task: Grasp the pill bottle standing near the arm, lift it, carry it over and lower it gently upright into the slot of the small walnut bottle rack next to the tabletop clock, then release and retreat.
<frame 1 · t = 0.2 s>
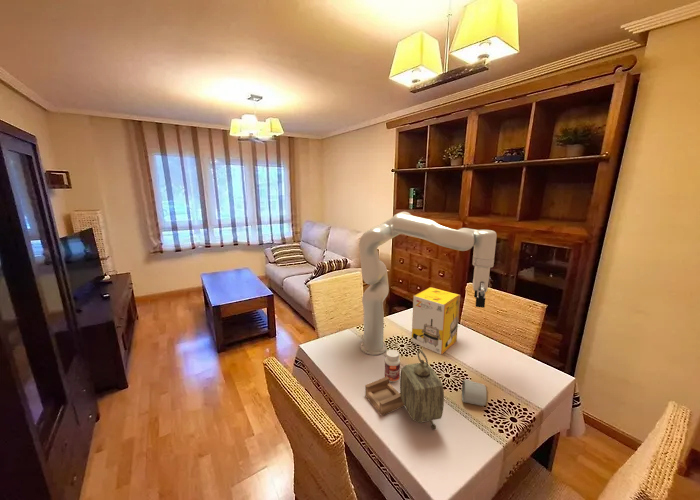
hand: (479, 302, 114), 31 cm above the table, tool pointing down, fingers open, 9 cm apart
packaging box: (434, 341, 143), on the table
pill bottle: (392, 378, 116), on the table
ceramic mug: (472, 399, 104), on the table
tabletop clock: (418, 418, 96), on the table
rack: (384, 400, 104), on the table
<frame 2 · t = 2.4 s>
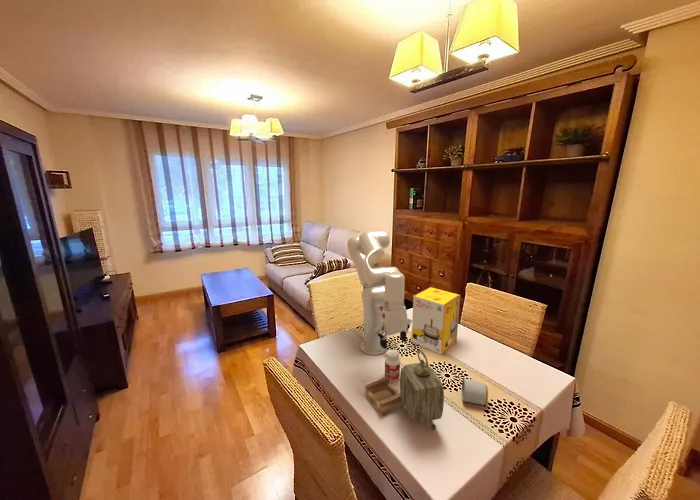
hand: (393, 343, 112), 16 cm above the table, tool pointing down, fingers open, 9 cm apart
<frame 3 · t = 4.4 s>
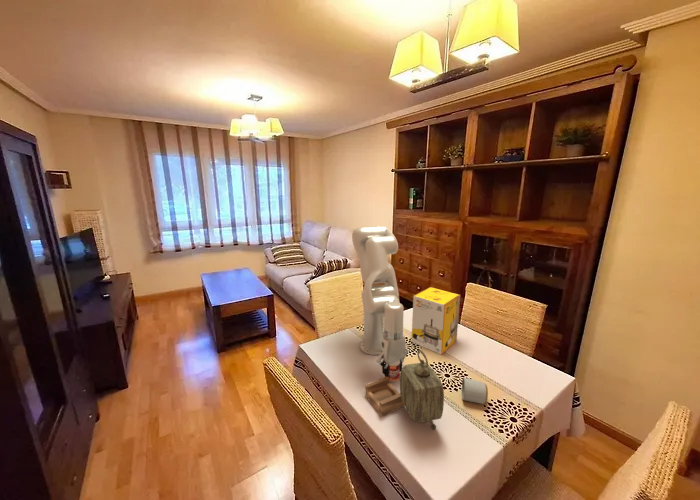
hand: (392, 372, 116), 3 cm above the table, tool pointing down, fingers closed on pill bottle, 6 cm apart
pill bottle: (392, 377, 116), on the table, touching gripper
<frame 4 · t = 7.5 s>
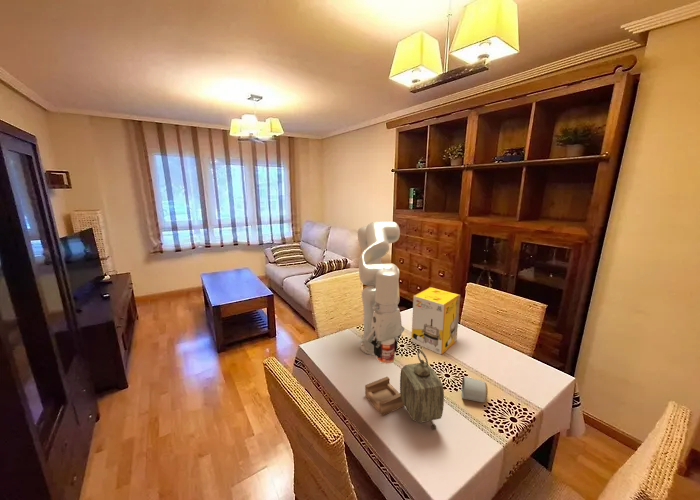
hand: (385, 352, 99), 20 cm above the table, tool pointing down, fingers closed on pill bottle, 6 cm apart
pill bottle: (385, 359, 100), point 17 cm above the table, touching gripper
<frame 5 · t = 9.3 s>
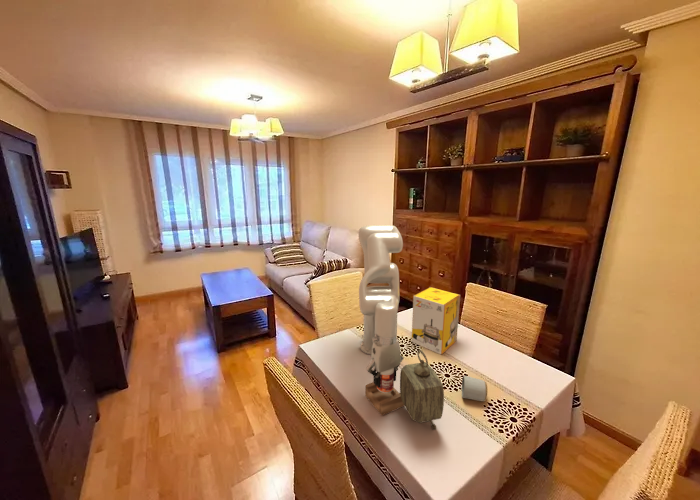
hand: (385, 381, 102), 8 cm above the table, tool pointing down, fingers closed on pill bottle, 6 cm apart
pill bottle: (385, 388, 103), point 5 cm above the table, touching gripper
when the fingers open (6 cm above the table, at t = 10.8 s): pill bottle drops 2 cm, resting on rack.
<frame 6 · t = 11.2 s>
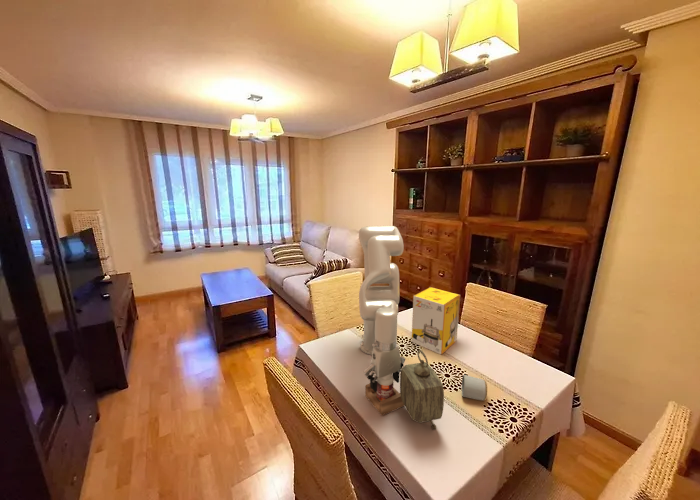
hand: (384, 384, 102), 7 cm above the table, tool pointing down, fingers open, 9 cm apart
pill bottle: (384, 397, 104), point 1 cm above the table, touching rack
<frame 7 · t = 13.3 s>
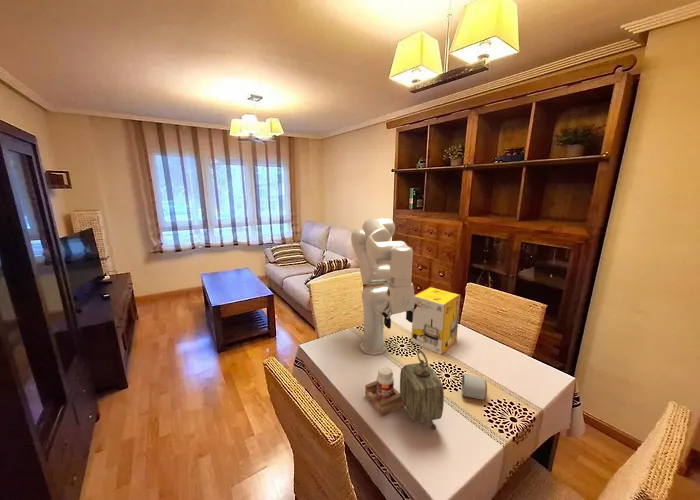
hand: (398, 323, 104), 28 cm above the table, tool pointing down, fingers open, 9 cm apart
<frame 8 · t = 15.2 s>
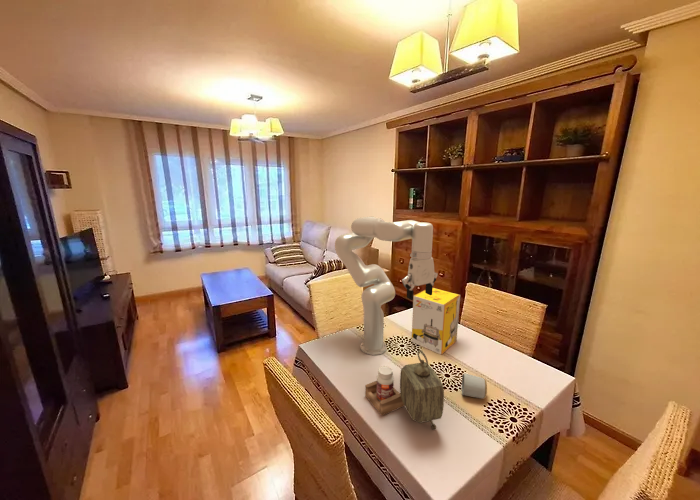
hand: (419, 296, 112), 34 cm above the table, tool pointing down, fingers open, 9 cm apart
at the end: pill bottle 0.2 cm off-centre on the rack, point 1.0 cm above the rack's base; pill bottle tilted 1°; the gripper is holding nothing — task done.
